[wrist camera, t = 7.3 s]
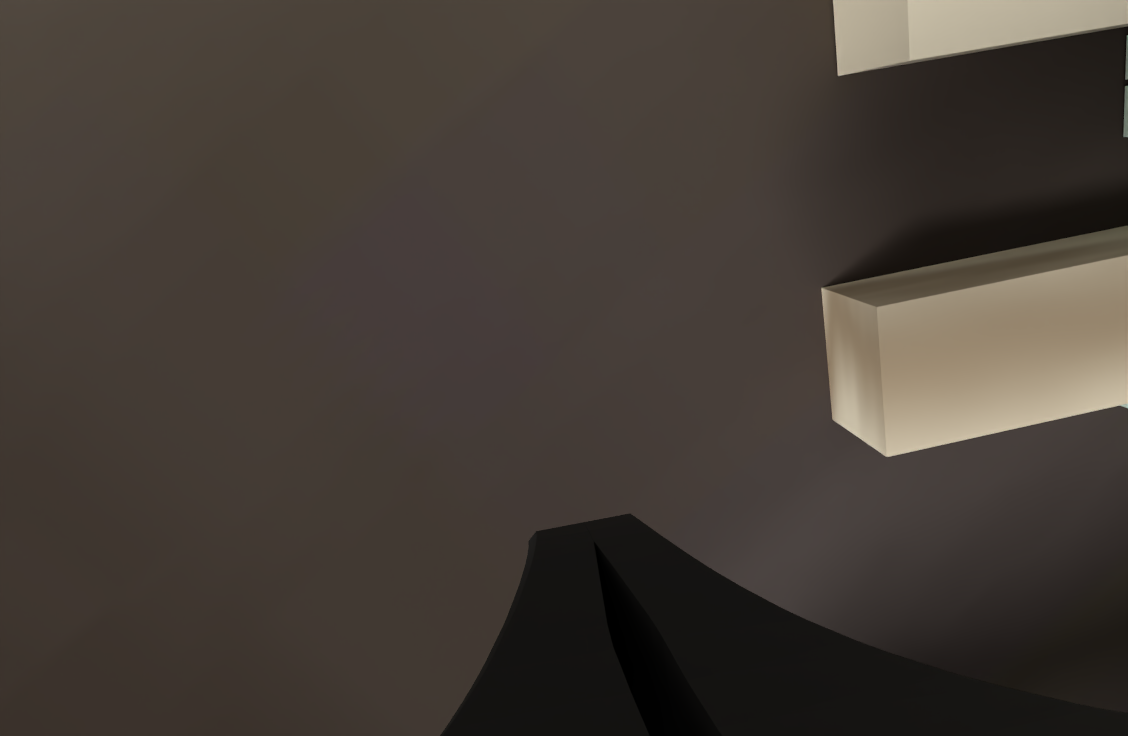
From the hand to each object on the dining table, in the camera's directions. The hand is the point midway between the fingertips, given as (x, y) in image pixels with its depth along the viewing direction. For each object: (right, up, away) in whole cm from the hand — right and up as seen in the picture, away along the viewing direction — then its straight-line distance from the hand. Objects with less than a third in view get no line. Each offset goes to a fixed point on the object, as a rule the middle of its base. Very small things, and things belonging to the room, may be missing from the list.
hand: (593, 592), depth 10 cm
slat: (+12, +4, +11) cm, 17 cm away
